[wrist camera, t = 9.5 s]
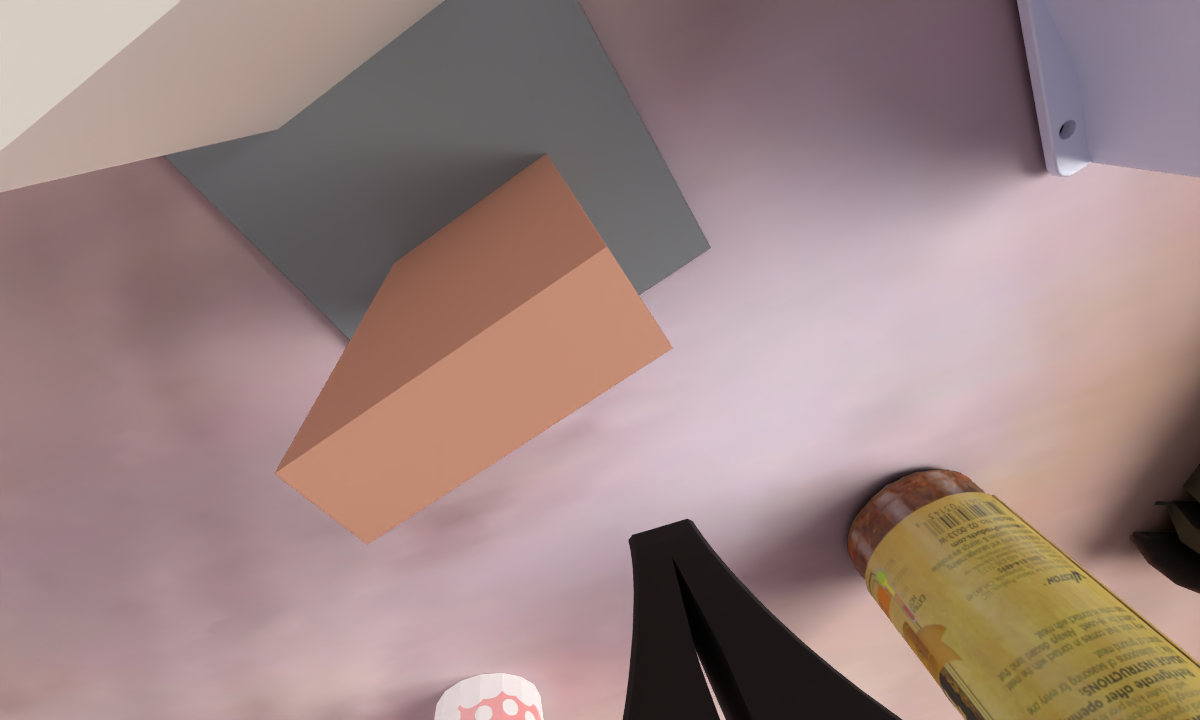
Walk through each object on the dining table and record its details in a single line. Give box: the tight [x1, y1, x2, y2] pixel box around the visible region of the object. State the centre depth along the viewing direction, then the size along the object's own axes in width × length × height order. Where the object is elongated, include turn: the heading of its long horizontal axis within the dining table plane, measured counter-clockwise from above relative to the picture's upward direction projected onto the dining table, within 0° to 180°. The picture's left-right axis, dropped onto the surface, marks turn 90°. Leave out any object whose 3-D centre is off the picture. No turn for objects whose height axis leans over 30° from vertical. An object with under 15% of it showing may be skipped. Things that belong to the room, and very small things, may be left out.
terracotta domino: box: [275, 153, 673, 545], centre depth 11 cm, size 2×5×9 cm, turn 123°
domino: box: [0, 0, 444, 192], centre depth 8 cm, size 2×5×9 cm, turn 123°
